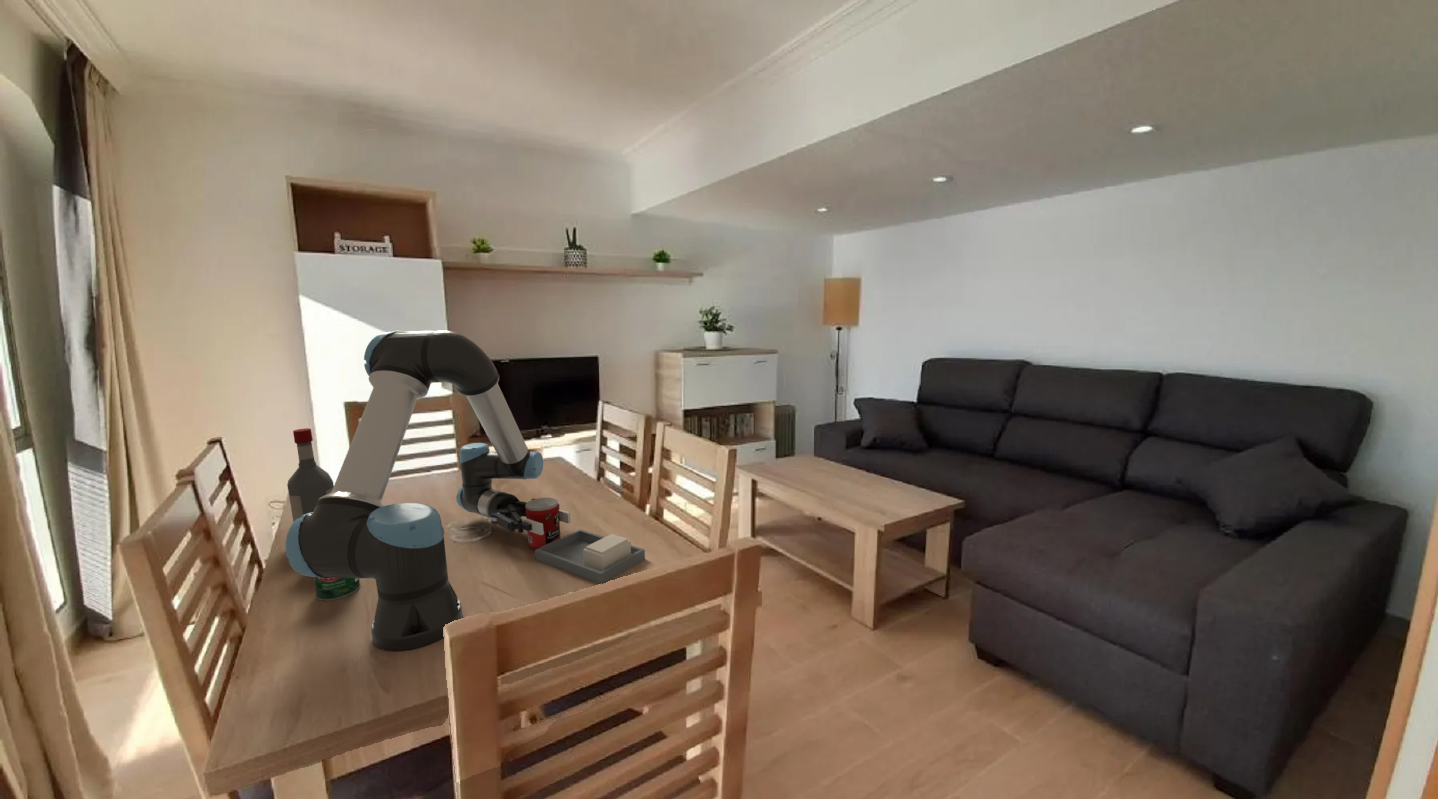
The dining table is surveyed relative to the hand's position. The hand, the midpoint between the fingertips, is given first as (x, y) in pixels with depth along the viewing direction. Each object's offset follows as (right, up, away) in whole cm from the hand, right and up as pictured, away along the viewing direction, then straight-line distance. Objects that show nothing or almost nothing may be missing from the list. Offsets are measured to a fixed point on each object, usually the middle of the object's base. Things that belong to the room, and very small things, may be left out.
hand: (555, 523), depth 135 cm
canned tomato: (-42, -11, -17) cm, 46 cm away
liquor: (-65, -7, +9) cm, 66 cm away
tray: (+10, -8, -5) cm, 14 cm away
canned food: (-4, -6, +4) cm, 8 cm away
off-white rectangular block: (+15, -8, -9) cm, 19 cm away
